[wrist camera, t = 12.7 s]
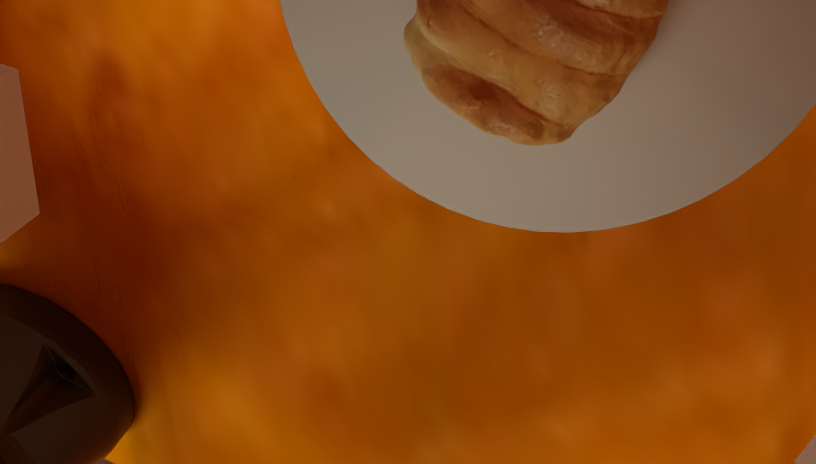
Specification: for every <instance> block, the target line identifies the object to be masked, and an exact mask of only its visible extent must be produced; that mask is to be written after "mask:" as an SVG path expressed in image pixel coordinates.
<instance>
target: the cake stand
mask: <svg viewBox="0 0 816 464" xmlns="http://www.w3.org/2000/svg"><path fill="white" fill-rule="evenodd" d="M280 3H281V7H282V12H283V16H284V20H285V24H286V26H287V29H288V32H289V35H290V38H291V41H292V44H293V46H294V49H295V52H296V55H297V57H298V59H299V61H300V63H301V65H302V67H303V69H304V71H305V73H306V75H307V77H308V80H309V82H310V84H311V85H312V87H313V89H314V90H315V92H316V93H317V95H318V96H319V98H320V100H321V101H322V103H323V104H324V106H325V108H326V109H327V111H328V112H329V113H330V115H331V116H332V117H333V118H334V120H335V121H336V122H337V124H338V125H339V126H340V127H341V129H342V130H343V131H344V132H345V134H346V135H347V136H348V137H349V138H350V139H351V140H352V141H353V142H354V143H355V144H356V145H357V146H358V147H359V148H360V149H361V150H362V151H363V152H364V153H365V154H366V155H367V156H368V157H369V158H370V159H371V160H372V161H373V162H375V163H376V164H377V165H378V166H379V167H381V168H382V169H383V170H384V171H386V172H387V173H388V174H389V175H391V176H392V177H393V178H394V179H396V180H397V181H399V182H401V183H402V184H404V185H405V186H407V187H408V188H410V189H411V190H413V191H415V192H416V193H418V194H419V195H421V196H423V197H425V198H427V199H429V200H431V201H433V202H435V203H437V204H439V205H441V206H443V207H445V208H447V209H450V210H452V211H455V212H458V213H460V214H463V215H466V216H468V217H471V218H474V219H477V220H480V221H484V222H488V223H492V224H496V225H500V226H504V227H510V228H517V229H524V230H531V231H539V232H582V231H594V230H605V229H610V228H615V227H620V226H625V225H630V224H636V223H639V222H642V221H646V220H649V219H652V218H655V217H659V216H662V215H665V214H668V213H671V212H673V211H675V210H678V209H680V208H682V207H685V206H687V205H689V204H691V203H694V202H696V201H698V200H701V199H703V198H704V197H706V196H708V195H710V194H711V193H713V192H715V191H716V190H718V189H720V188H722V187H723V186H725V185H727V184H729V183H730V182H732V181H734V180H735V179H736V178H738V177H739V176H741V175H742V174H743V173H745V172H746V171H747V170H749V169H750V168H751V167H753V166H754V165H755V164H757V163H758V162H759V161H761V160H762V159H763V158H765V157H766V156H767V155H768V154H769V153H770V152H771V151H772V150H773V149H774V148H775V147H776V146H777V145H778V144H780V143H781V142H782V141H783V140H784V139H785V138H786V137H787V136H788V135H789V134H790V133H791V132H792V131H793V130H794V129H795V128H796V127H797V125H798V124H799V123H800V122H801V121H802V119H803V118H804V117H805V116H806V115H807V113H808V112H809V111H810V110H811V109H812V107H813V106H814V105H815V104H816V0H669V2H668V5H667V8H666V11H665V13H664V15H663V18H662V19H661V21H660V23H659V24H658V30H657V34H656V37H655V40H654V41H653V43H652V44H651V45H650V46H649V48H648V49H647V50H646V52H645V53H644V54H643V55H642V56H641V57H640V58H639V60H638V62H637V64H636V66H635V67H634V68H633V69H632V71H631V72H630V74H629V76H628V77H627V79H626V81H625V83H624V84H623V86H622V88H621V90H620V92H619V93H618V95H617V96H616V97H615V98H614V99H613V100H612V101H611V102H610V103H609V104H608V105H606V106H605V107H604V108H603V109H602V110H601V111H600V112H599V113H597V114H596V115H595V116H593V117H591V118H589V119H587V120H586V121H584V122H583V123H582V124H581V125H580V126H579V127H578V128H577V129H576V130H575V131H574V132H573V134H572V135H571V137H570V138H568V139H567V140H565V141H563V142H561V143H559V144H546V145H541V146H529V145H523V144H518V143H514V142H511V141H510V140H508V139H507V138H505V137H502V136H497V135H492V134H489V133H485V132H483V131H481V130H479V129H478V128H476V127H475V126H474V125H472V124H471V123H469V122H468V121H466V120H464V119H463V118H461V117H460V116H459V115H457V114H456V113H454V112H453V111H452V110H450V109H449V108H448V107H447V106H446V105H445V104H444V103H442V102H440V101H439V100H438V99H436V98H435V97H434V96H433V95H432V94H431V93H430V91H429V90H428V89H427V87H426V86H425V84H424V82H423V79H422V76H421V75H419V73H418V72H417V71H416V70H415V68H414V67H413V65H412V61H411V57H410V55H409V54H408V52H407V50H406V48H405V44H404V29H405V26H406V25H407V23H408V22H409V21H410V20H411V19H412V18H413V17H414V15H415V13H416V8H417V0H280Z"/></svg>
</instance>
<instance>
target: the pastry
mask: <svg viewBox="0 0 816 464" xmlns="http://www.w3.org/2000/svg"><path fill="white" fill-rule="evenodd" d="M668 2H669V0H417V8H416V13H415V15H414V17H413V18H412V19H411V20H410V21H409V22H408V23H407V25H406V26H405V29H404V44H405V48H406V50H407V52H408V54H409V55H410V57H411V61H412V65H413V67H414V68H415V70H416V71H417V72H418V73H419V75H421V76H422V79H423V82H424V84H425V86H426V87H427V89H428V90H429V91H430V93H431V94H432V95H433V96H434V97H435V98H436V99H438V100H439V101H440V102H442V103H444V104H445V105H446V106H447V107H448V108H449V109H450V110H452V111H453V112H454V113H456V114H457V115H459V116H460V117H461V118H463V119H464V120H466V121H468V122H469V123H471V124H472V125H474V126H475V127H476V128H478V129H479V130H481V131H483V132H485V133H489V134H492V135H497V136H502V137H505V138H507V139H508V140H510V141H511V142H514V143H518V144H523V145H529V146H541V145H546V144H559V143H561V142H563V141H565V140H567V139H568V138H570V137H571V135H572V134H573V132H574V131H575V130H576V129H577V128H578V127H579V126H580V125H581V124H582V123H583V122H584V121H586V120H587V119H589V118H591V117H593V116H595V115H596V114H597V113H599V112H600V111H601V110H602V109H603V108H604V107H605V106H606V105H608V104H609V103H610V102H611V101H612V100H613V99H614V98H615V97H616V96H617V95H618V93H619V92H620V90H621V88H622V86H623V84H624V83H625V81H626V79H627V77H628V76H629V74H630V72H631V71H632V69H633V68H634V67H635V66H636V64H637V62H638V60H639V58H640V57H641V56H642V55H643V54H644V53H645V52H646V50H647V49H648V48H649V46H650V45H651V44H652V43H653V41H654V40H655V37H656V34H657V30H658V24H659V23H660V21H661V19H662V18H663V15H664V13H665V11H666V8H667V5H668Z"/></svg>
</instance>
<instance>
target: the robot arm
mask: <svg viewBox="0 0 816 464" xmlns="http://www.w3.org/2000/svg"><path fill="white" fill-rule="evenodd" d="M38 214H40V211H39V204H38V198H37V191H36V184H35V178H34V171H33V165H32V158H31V151H30V145H29V138H28V131H27V125H26V118H25V111H24V105H23V98H22V92H21V85H20V78H19V72H18V69H17V68H14V67H10V66H7V65H4V64H0V244H1V243H2V242H4V241H5V240H6V239H7V238H9V237H10V236H11V235H13V234H14V233H15V232H16V231H18V230H19V229H20V228H22V227H23V226H24V225H26V224H27V223H28V222H29V221H31V220H32V219H33V218H35V217H36V216H37V215H38ZM133 414H134V403H133V397H132V393H131V389H130V387H129V384H128V381H127V379H126V377H125V375H124V373H123V372H122V370H121V368H120V366H119V365H118V363H117V362H116V360H115V359H114V358H113V356H112V355H111V354H110V352H109V351H108V350H107V349H106V348H105V346H104V345H103V344H102V343H101V342H100V341H99V340H98V339H97V338H96V337H95V336H94V335H93V334H92V333H91V332H90V331H89V330H88V329H87V328H85V327H84V326H83V325H82V324H81V323H79V322H78V321H77V320H76V319H74V318H73V317H72V316H70V315H69V314H67V313H66V312H64V311H63V310H61V309H60V308H58V307H57V306H55V305H53V304H51V303H50V302H48V301H46V300H44V299H42V298H40V297H38V296H35V295H33V294H31V293H28V292H26V291H23V290H20V289H17V288H14V287H10V286H5V285H0V464H96V463H98V462H100V461H101V460H102V459H104V458H105V457H106V456H107V455H108V454H109V453H110V452H111V451H112V450H113V448H114V447H115V446H116V444H117V443H118V442H119V440H120V439H121V438H122V437H123V435H124V434H125V433H126V431H127V430H128V429H129V427H130V425H131V422H132V419H133ZM795 463H796V464H816V435H815V436H814V437H813V439H812V440H811V441H810V442H809V444H808V445H807V446H806V447H805V449H804V450H803V451H802V453H801V454H800V455H799V456H798V458H797V459H796V460H795Z"/></svg>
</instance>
